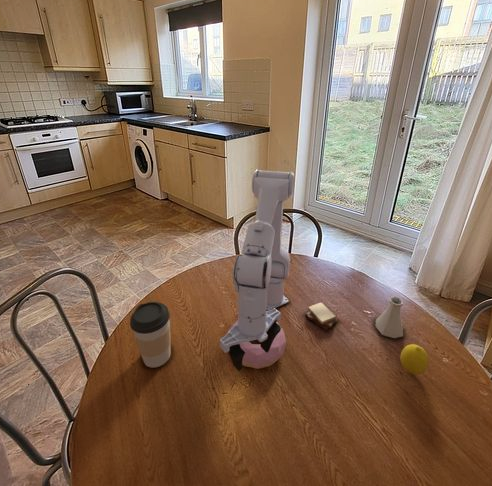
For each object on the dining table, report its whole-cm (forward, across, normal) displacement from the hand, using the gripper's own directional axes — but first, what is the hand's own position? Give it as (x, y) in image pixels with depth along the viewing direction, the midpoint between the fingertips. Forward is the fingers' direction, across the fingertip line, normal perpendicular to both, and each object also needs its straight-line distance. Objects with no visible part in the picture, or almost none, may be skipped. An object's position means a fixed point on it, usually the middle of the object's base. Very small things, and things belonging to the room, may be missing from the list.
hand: (251, 358), depth 63 cm
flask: (+8, +41, -10) cm, 43 cm away
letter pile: (+8, +29, +4) cm, 30 cm away
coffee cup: (+9, -14, +21) cm, 27 cm away
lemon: (+9, +32, -20) cm, 39 cm away
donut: (+9, +8, +8) cm, 14 cm away
